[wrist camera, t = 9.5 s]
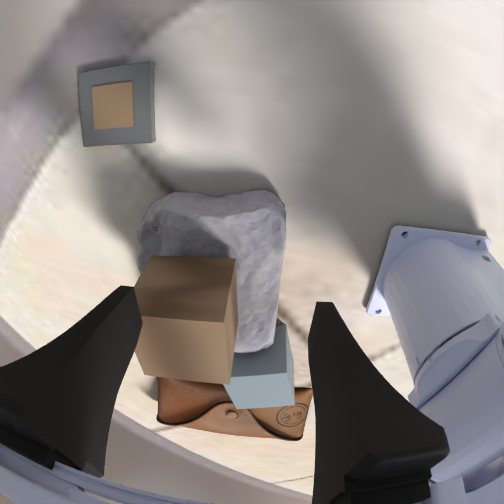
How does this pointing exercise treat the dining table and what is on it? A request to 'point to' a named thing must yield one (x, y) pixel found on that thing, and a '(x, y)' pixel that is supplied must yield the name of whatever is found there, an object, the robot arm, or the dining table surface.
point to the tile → (117, 105)
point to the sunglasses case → (228, 411)
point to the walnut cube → (188, 318)
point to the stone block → (226, 248)
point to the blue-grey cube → (264, 375)
